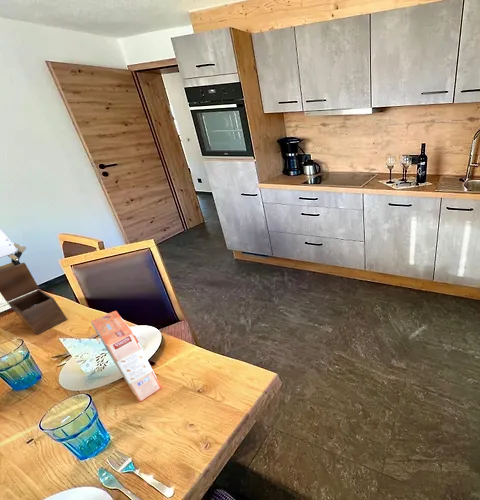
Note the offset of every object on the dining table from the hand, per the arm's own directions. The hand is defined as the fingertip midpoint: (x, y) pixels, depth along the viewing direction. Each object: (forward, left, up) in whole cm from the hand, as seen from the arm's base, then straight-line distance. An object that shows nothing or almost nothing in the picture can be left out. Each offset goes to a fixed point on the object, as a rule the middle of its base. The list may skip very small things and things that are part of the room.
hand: (8, 274), depth 100 cm
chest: (+3, -5, -19) cm, 20 cm away
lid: (+1, -2, -3) cm, 3 cm away
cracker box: (+35, -56, -20) cm, 68 cm away
